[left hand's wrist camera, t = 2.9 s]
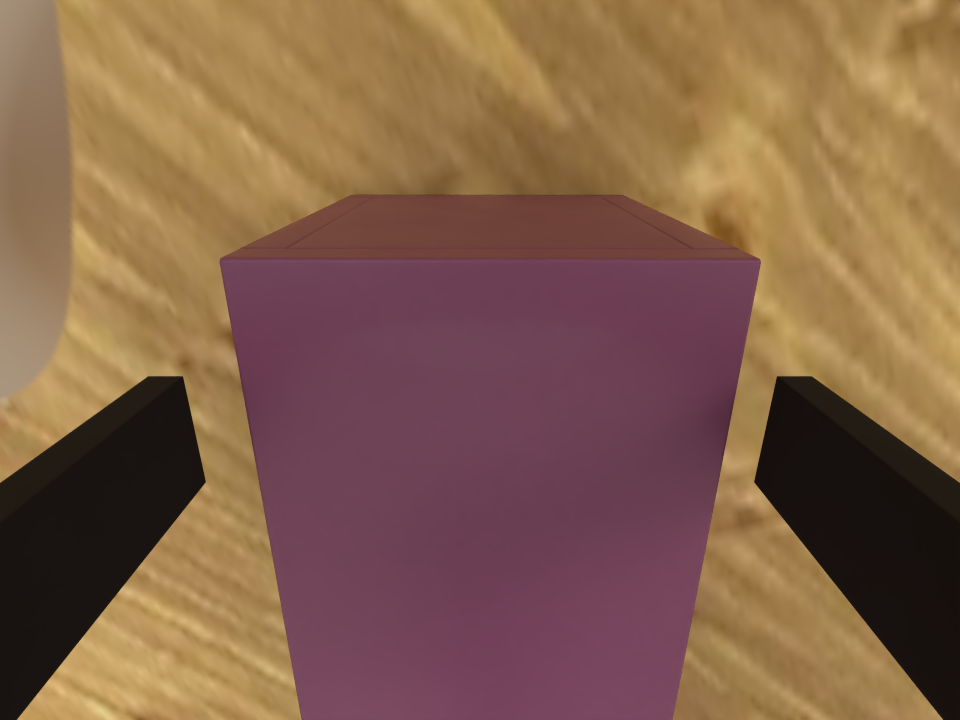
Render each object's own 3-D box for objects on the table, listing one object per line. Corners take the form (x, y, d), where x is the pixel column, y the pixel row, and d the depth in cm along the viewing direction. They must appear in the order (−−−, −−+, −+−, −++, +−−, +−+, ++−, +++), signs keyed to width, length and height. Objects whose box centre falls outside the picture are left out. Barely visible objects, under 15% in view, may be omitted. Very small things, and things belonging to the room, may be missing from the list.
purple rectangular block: (587, 578, 30) (648, 846, 19) (383, 577, 30) (323, 843, 19) (623, 194, 22) (763, 259, 11) (350, 194, 22) (217, 258, 11)
